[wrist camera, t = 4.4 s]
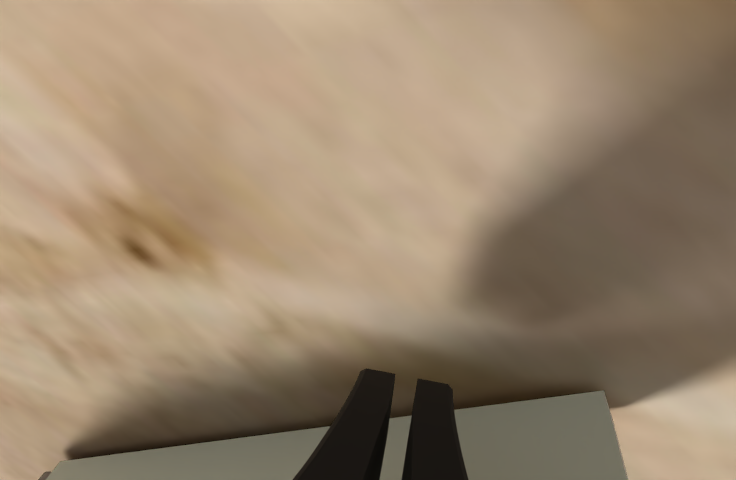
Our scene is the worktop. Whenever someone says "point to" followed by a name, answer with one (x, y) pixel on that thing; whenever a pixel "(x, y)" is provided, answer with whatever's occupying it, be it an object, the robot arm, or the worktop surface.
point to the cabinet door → (400, 448)
